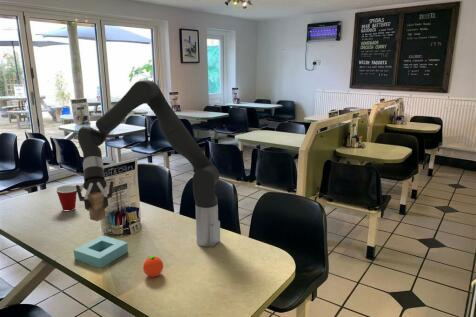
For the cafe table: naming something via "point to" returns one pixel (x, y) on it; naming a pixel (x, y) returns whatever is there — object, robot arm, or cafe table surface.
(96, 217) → the peg
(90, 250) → the socket block
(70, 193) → the plastic cup
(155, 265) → the clementine
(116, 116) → the robot arm
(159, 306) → the cafe table surface
